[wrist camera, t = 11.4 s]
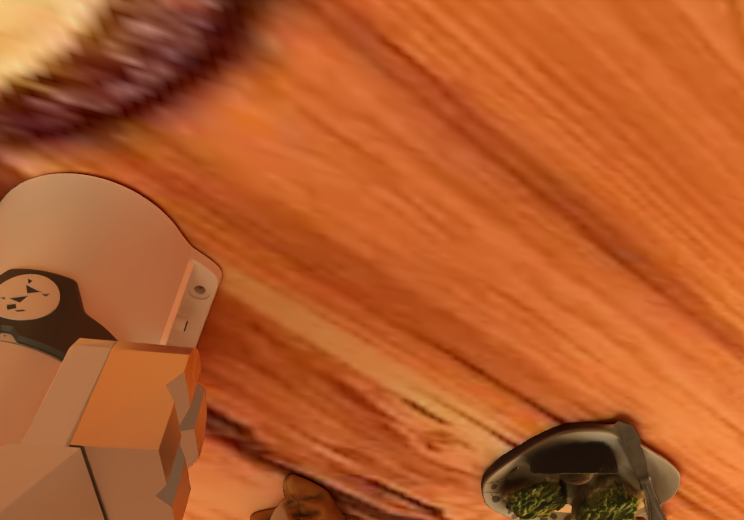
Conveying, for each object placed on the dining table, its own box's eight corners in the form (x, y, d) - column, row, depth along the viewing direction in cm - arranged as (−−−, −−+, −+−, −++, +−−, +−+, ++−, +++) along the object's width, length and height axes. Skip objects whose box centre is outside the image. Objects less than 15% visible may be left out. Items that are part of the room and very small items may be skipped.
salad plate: (729, 478, 69) (746, 522, 65) (584, 546, 78) (592, 588, 74) (600, 390, 61) (611, 434, 58) (456, 477, 70) (459, 520, 67)
